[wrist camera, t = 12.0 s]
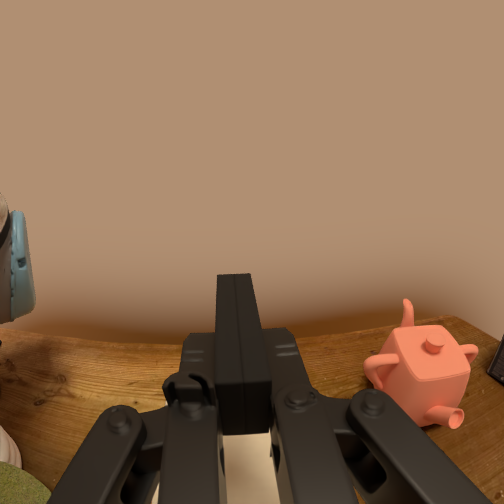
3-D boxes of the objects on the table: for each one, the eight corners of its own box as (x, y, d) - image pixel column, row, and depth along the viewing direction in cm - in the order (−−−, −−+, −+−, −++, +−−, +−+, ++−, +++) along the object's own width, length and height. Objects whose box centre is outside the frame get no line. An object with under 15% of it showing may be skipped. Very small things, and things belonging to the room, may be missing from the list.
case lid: (168, 402, 20) (166, 396, 19) (312, 394, 20) (314, 388, 20) (152, 556, 7) (147, 554, 7) (359, 541, 8) (363, 539, 8)
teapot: (467, 401, 23) (503, 337, 20) (425, 466, 17) (475, 405, 14) (388, 355, 34) (406, 292, 31) (331, 399, 28) (348, 331, 25)
